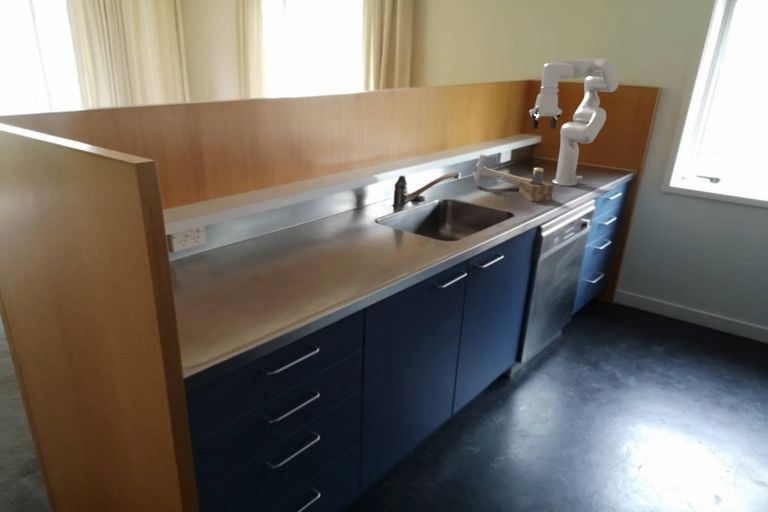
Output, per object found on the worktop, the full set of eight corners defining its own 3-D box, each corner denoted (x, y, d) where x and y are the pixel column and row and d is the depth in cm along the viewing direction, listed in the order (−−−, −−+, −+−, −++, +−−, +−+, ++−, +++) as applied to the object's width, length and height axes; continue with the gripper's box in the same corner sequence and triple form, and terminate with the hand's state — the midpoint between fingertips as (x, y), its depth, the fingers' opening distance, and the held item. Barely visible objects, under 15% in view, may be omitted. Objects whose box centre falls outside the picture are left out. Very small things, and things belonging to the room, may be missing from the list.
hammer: (536, 169, 268) (479, 153, 266) (538, 170, 263) (480, 154, 262) (525, 198, 273) (469, 182, 272) (527, 200, 269) (470, 185, 268)
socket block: (538, 194, 258) (540, 180, 256) (551, 200, 248) (553, 185, 246) (518, 195, 255) (520, 181, 253) (530, 201, 245) (532, 186, 243)
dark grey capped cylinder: (536, 196, 254) (540, 167, 249) (541, 198, 250) (545, 169, 245) (528, 196, 253) (531, 167, 248) (533, 199, 249) (537, 169, 244)
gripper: (559, 90, 255) (554, 127, 261) (528, 90, 250) (523, 127, 256) (569, 92, 248) (563, 129, 255) (537, 91, 243) (532, 129, 250)
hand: (543, 128), depth 255 cm, fingers open, 9 cm apart
